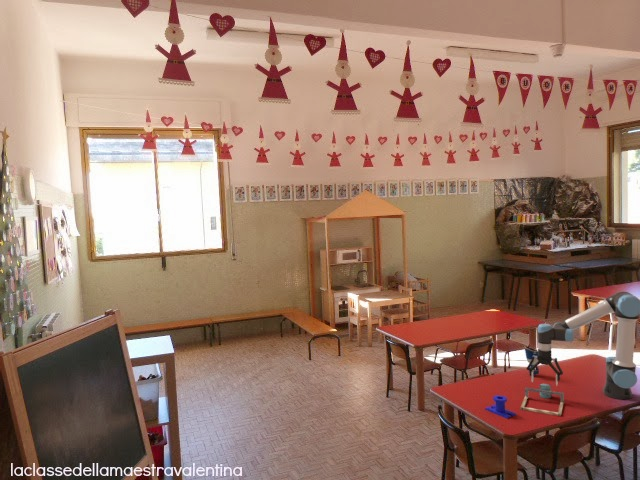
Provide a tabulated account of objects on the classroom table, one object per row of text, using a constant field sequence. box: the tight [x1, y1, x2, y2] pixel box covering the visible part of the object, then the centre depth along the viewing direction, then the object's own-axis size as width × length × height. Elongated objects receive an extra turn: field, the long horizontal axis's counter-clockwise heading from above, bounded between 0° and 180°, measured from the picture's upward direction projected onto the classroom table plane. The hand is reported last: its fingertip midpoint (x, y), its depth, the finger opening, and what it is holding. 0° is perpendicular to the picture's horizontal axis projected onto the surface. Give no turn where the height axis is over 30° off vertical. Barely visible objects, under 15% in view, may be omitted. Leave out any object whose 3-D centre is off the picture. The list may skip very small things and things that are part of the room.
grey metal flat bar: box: [524, 387, 565, 404], centre depth 287 cm, size 21×2×6 cm, turn 59°
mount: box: [484, 394, 517, 419], centre depth 273 cm, size 15×8×9 cm, turn 31°
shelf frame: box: [520, 395, 565, 417], centre depth 279 cm, size 21×20×1 cm
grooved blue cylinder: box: [539, 383, 552, 400], centre depth 292 cm, size 6×6×7 cm
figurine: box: [524, 346, 540, 377], centre depth 329 cm, size 13×9×20 cm
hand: (544, 383), depth 292 cm, fingers open, 13 cm apart
